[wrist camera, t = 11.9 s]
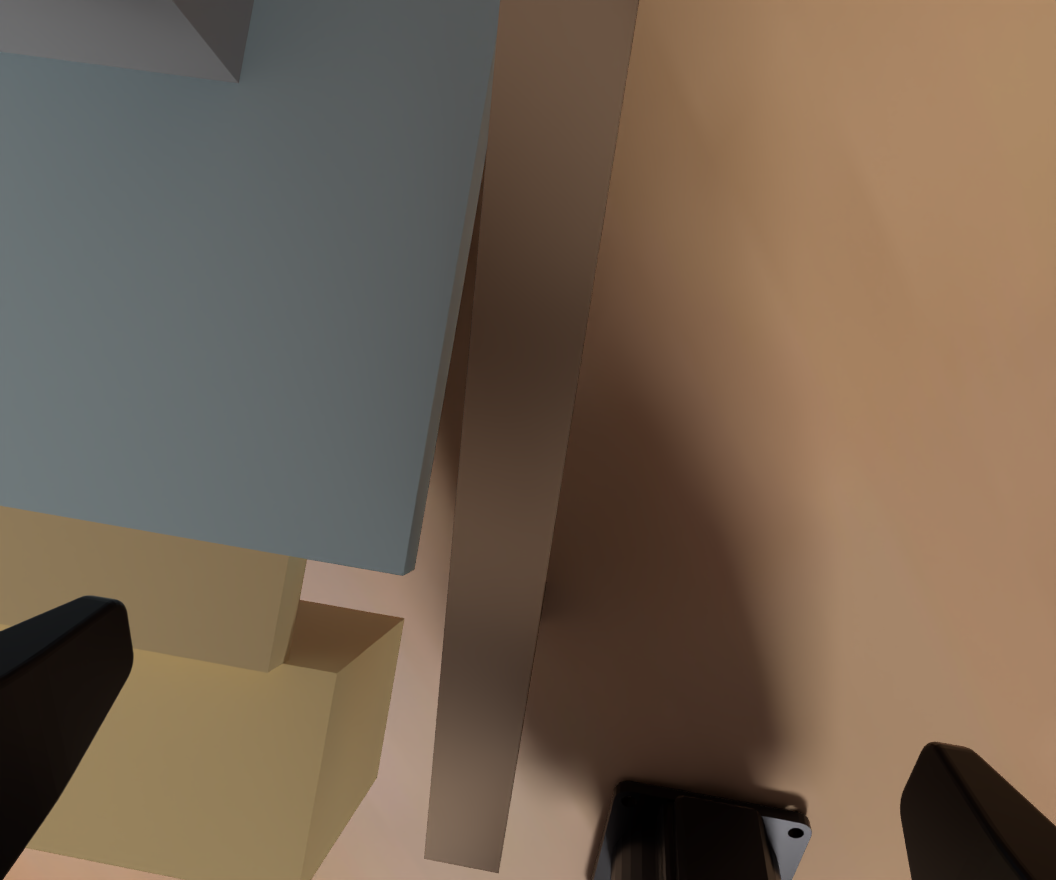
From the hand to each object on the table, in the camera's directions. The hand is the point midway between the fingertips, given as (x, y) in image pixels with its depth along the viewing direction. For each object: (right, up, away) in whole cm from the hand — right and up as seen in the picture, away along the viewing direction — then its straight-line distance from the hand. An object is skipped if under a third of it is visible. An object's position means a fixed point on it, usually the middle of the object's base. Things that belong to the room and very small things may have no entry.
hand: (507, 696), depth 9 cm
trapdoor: (-8, +5, +12) cm, 15 cm away
